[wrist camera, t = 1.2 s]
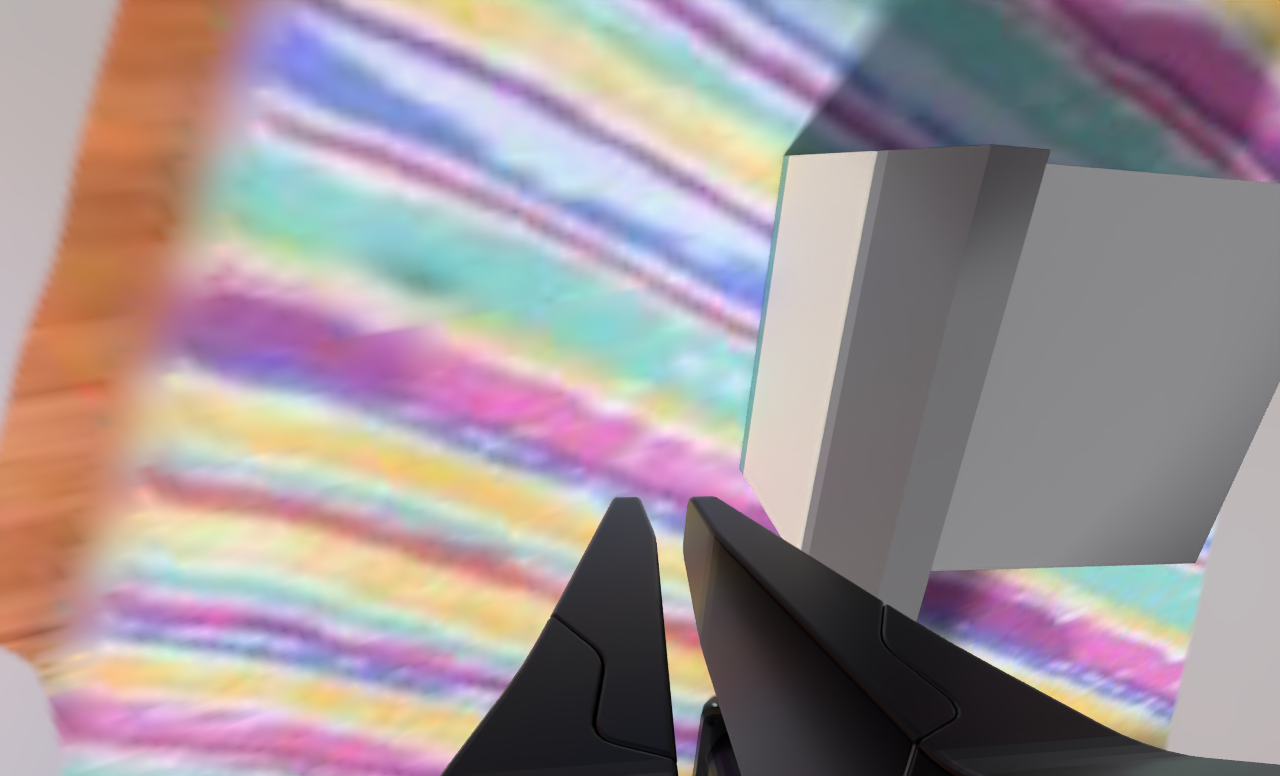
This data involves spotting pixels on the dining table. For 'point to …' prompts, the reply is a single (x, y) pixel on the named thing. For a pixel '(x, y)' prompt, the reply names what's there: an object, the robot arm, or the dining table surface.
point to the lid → (1042, 367)
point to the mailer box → (802, 328)
